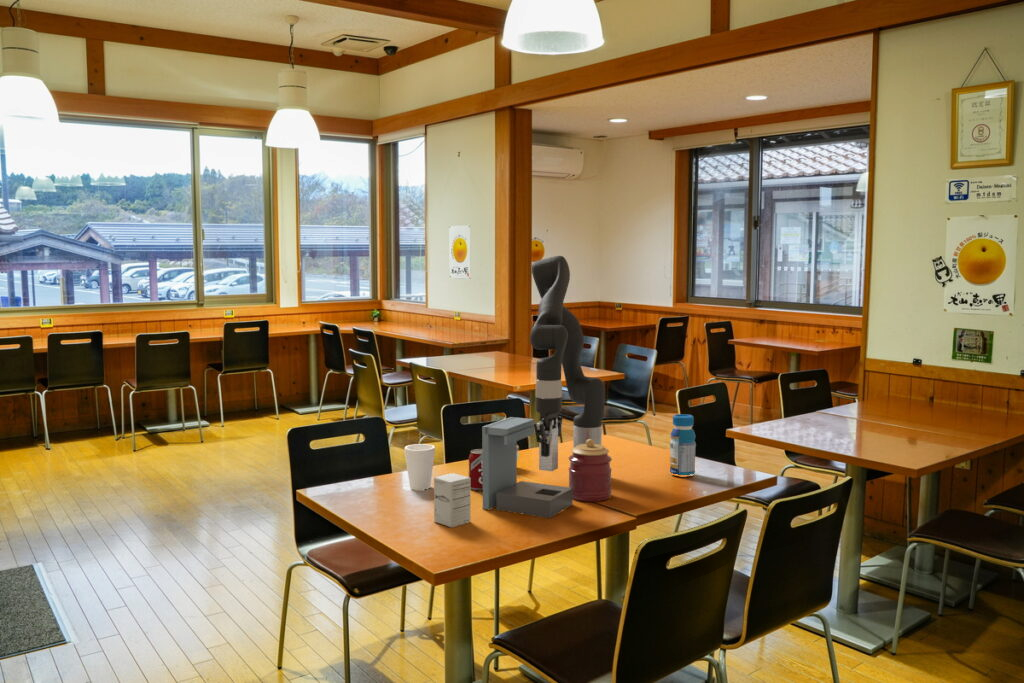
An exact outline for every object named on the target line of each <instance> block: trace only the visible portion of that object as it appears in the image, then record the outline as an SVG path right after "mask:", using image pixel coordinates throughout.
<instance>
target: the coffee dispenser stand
mask: <svg viewBox="0 0 1024 683" xmlns="http://www.w3.org/2000/svg"><path fill="white" fill-rule="evenodd" d="M534 424H535V419H534V418H526V417H524V418H523V417H514V416H509V417H507V418H504V419H501V420H497V421H495V422H492V423H490V424H486V425H484V426H482V428H481V431H482V432H481V433H482V434H481V435H482V438H481V440H482V443H481V449H482V477H483V491H482V510H486V509H490V510H491V508H492V509H494V508H495V507H497V506H496V493H497V492H499V491H501V490H503V489H507V488H509V487H511V486H514V484H516V483H518V478H517V477H518V475H517V472H518V468H517V467H518V466H517V465H518V463H517V462H518V460H517V445H518V443H517V442H518V441H520V440H523V439H526V438H528V437H530V436H534V435H535V427H534ZM494 506H495V507H494Z"/></svg>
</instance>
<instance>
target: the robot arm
mask: <svg viewBox="0 0 1024 683" xmlns="http://www.w3.org/2000/svg"><path fill="white" fill-rule="evenodd" d="M570 271H571V270H570V266H569V264H568V260H567V259H566V258H565V257H564V256H563V255H555V256H551V257H547V258H543V259H540V260H535V261H534V262H532V264H531V273H532V277H533V281H534V284H535V285H536V289H537V291H538V294H539V296H540V299H541V300H540V301H539V305H538V313H537V319H536V321H535V323H534V325H533V326H532V328H531V330H530V335H529V342H530V345H531V347H533V348H534V349H535V350H538V351H541V350H542V351H543V350H545V351H547V350H548V351H549V350H551V351H553V350H554V353H553V354H552V355H550V356H547V357H541V358H539V359H537V361H536V368H535V369H536V371H535V372H536V381H535V412H537V413H539V419H538V420H539V421H538V422H534V434H535V438H536V442H537V443H539V442H540V443H541V456H543V457H548V456H549V436H550V435H551V429H552V428H554V427H555V428H556V427H558V438H560V436H561V431H562V424H563V416H561V415H558V414H559V413H561V412H562V410H563V384H562V368H563V374H564V379H565V384H566V389H567V393H568V396H569V398H570V400H571V401H572V402H573V403H576V404H578V405H583V412H582V413H581V414H577V415H575V416H574V417H573V423H572V424H573V428H572V429H573V430H572V432H573V437H572V438H573V440H572V441H573V445H572V446H573V448H575V447H576V446H577V445H580V444H586V441H587V440H588V439H592V440H594V444H598V445H602V437H603V436H602V430H603V429H602V426H603V425H602V424H603V423H602V422H603V418H604V416H605V415H604V414H605V402H606V401H605V400H606V399H605V398H606V388H605V384H604V382H603V380H601V379H600V378H599V377H593V376H586V375H585V374H584V372H583V369H582V366H581V355H582V352H583V348H584V345H585V344H584V342H585V339H584V334H583V330H582V327H581V324H580V321H579V319H578V317H577V316H576V315H575V314H573V312H572V311H570V310H569V309H568V308H566V306H564V301H565V297H566V294H567V291H568V288H569V283H570V281H571V280H570V278H571V272H570ZM548 430H549V431H548ZM545 431H548V432H545ZM539 435H540V436H539ZM573 448H572V449H573Z"/></svg>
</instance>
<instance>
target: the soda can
mask: <svg viewBox="0 0 1024 683" xmlns="http://www.w3.org/2000/svg"><path fill="white" fill-rule="evenodd" d="M468 477H469V478H471V490H473V491H476V490H483V477H482V448H477V449H476V448H475V449H471V450H470V454H469V456H468Z"/></svg>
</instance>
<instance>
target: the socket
mask: <svg viewBox="0 0 1024 683" xmlns="http://www.w3.org/2000/svg"><path fill="white" fill-rule="evenodd" d="M572 498H573V488H569V486H559V485H554V484H546V483H539V482H538V483H537V482H531V481H524V480H520V481H517V483H516V484H514V486H511V487H509V488H507V489H503V490H501V491H499V492H497V493H496V506H495V507H496V511H500V510H504V511H503V512H506V511H510V512H509V513H512V512H516V513H515V514H519V513H523V514H522V515H525V514H528V515H527V516H531V515H534V516H533V517H538V516H540V518H544V517H546V518H545V519H551V517H552V518H553V517H555V516H556V515H558V514H560V513H561V512H563V511H565V510H566V509H568V508H570V507H571V506H573V499H572ZM570 505H571V506H570ZM569 506H570V507H569ZM567 507H568V508H567ZM564 509H565V510H564ZM562 510H563V511H562ZM559 512H560V513H559ZM554 515H555V516H554Z"/></svg>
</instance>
